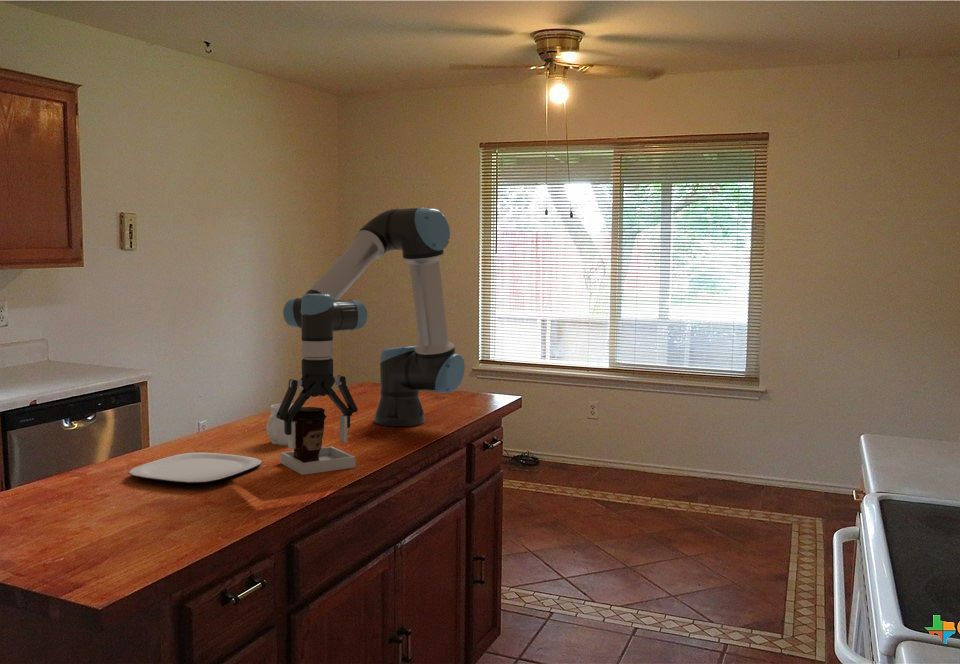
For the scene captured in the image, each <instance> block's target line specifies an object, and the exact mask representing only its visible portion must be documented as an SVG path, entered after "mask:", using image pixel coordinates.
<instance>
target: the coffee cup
mask: <svg viewBox="0 0 960 664" xmlns="http://www.w3.org/2000/svg"><path fill="white" fill-rule="evenodd" d="M325 410H326V409H325V408H323V407H315V406H302V407H301V409H300V410H299V411H298V413H297V414H296V415H295V417H294V418H293V420H292V421H294V422H295V449H293V451H294V458H296V459H298V460H300V461H302V462H303V463H306V462H314V461H319V457H318V456H319V453H320V450H321V448H322V446H323V445H322V444H323V437H324V432H325V431H324V430H325V420H326V418H327V414H325Z"/></svg>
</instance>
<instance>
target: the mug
mask: <svg viewBox="0 0 960 664" xmlns="http://www.w3.org/2000/svg"><path fill="white" fill-rule="evenodd" d="M281 404H282V403H276V404H272V405H270V415H269V417H268V419H267V421H266V433H267V437H268V439H270V442H271V444H273V445H275V444H278V445H277V446H288V435H286V434H285V432H284V420H280V419H278V418H277V417H276V415H277V413H278V410H279V408H280V406H281ZM293 404H294V402H293V403H291V405H290V407H289V409H290V408H291V406H292V405H293Z"/></svg>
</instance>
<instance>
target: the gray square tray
mask: <svg viewBox="0 0 960 664" xmlns="http://www.w3.org/2000/svg"><path fill="white" fill-rule="evenodd" d="M318 457H319V461H314V462H306V463H303V462H302V461H300V460H298V459H296V458H294V450H292V451H291V450H290V451H283V452H280V464H281V465H284V466H285V467H287V468H289V469H291V470H293V471H295V472H296V473H298V474H299V475H301V476H304V475H312V474H319V473H325V472H333V471H338V470H346V469H348V470H349V469H353V468H356V456H355V455H352V454H351V453H348V452H346V451H344V450H341V449H339V448H336V447H334V446H332V445H331V446H324V447H321V450H320V453H319V456H318Z"/></svg>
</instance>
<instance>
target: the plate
mask: <svg viewBox="0 0 960 664" xmlns="http://www.w3.org/2000/svg"><path fill="white" fill-rule="evenodd" d="M262 462H263V461H262V460H261V459H258V458H256V457H250V456H245V455H238V454H227V453H221V452H220V453H219V452H218V453H217V452H216V453H215V452H205V451H203V452H186V453H180V454H175V455H170V456H166V457H164V458H160V459H157V460H153V461H150V462H147V463H143V464H140V465H138V466H136V467H133V468H131V469H130V471H128V474H129V475H130V476H132V477H134V478H141V479H146V480H152V481H160V482H167V483H168V482H169V483H177V484H206V483H213V482H218V481H221V480H225V479H228V478H232V477H235V476H238V475H240V474H242V473H245V472H248V471H251V470H253V469H255V468H256V467H258V466H260V465H261V464H262Z"/></svg>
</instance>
